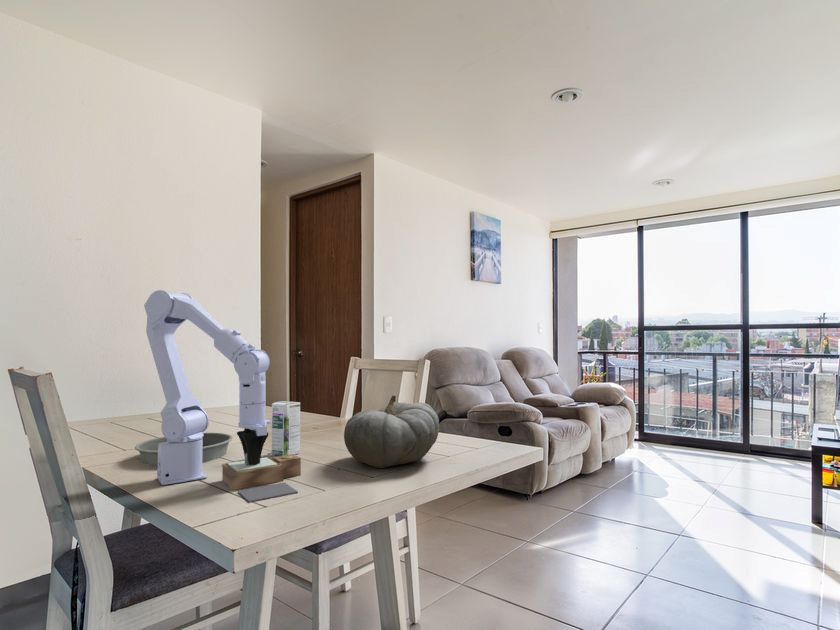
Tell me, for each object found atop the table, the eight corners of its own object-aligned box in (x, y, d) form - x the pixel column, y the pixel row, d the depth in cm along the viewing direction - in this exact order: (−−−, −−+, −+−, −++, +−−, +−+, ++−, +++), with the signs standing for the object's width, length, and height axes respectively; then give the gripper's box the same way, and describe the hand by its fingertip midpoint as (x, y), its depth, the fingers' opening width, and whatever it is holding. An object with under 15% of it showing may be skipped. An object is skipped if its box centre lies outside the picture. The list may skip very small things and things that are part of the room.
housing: (233, 490, 106) (233, 471, 106) (222, 479, 114) (222, 461, 114) (304, 477, 115) (304, 459, 115) (289, 468, 123) (289, 451, 123)
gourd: (463, 449, 129) (450, 384, 129) (397, 487, 111) (381, 412, 111) (397, 445, 146) (385, 388, 146) (330, 478, 128) (317, 413, 128)
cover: (236, 474, 107) (236, 459, 107) (227, 466, 114) (227, 452, 114) (277, 467, 112) (277, 453, 112) (266, 460, 119) (266, 447, 119)
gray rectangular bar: (267, 463, 129) (267, 450, 129) (275, 462, 130) (275, 449, 130) (279, 471, 122) (279, 457, 122) (287, 469, 123) (287, 455, 123)
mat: (249, 502, 98) (249, 500, 98) (238, 492, 104) (238, 490, 104) (297, 492, 103) (297, 491, 103) (284, 483, 110) (284, 482, 110)
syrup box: (270, 455, 137) (270, 402, 137) (285, 451, 142) (285, 400, 142) (286, 457, 134) (286, 404, 135) (301, 453, 139) (300, 401, 140)
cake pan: (210, 443, 155) (210, 429, 155) (248, 455, 138) (248, 439, 138) (122, 458, 137) (122, 441, 138) (153, 474, 120) (153, 455, 121)
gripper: (280, 404, 110) (280, 466, 109) (260, 398, 122) (260, 454, 121) (248, 407, 106) (248, 471, 105) (230, 400, 118) (230, 458, 117)
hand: (252, 462), depth 113 cm, fingers closed on cover, 2 cm apart
